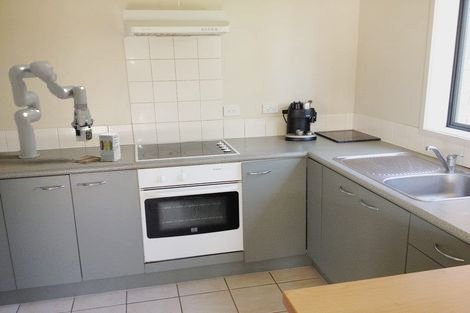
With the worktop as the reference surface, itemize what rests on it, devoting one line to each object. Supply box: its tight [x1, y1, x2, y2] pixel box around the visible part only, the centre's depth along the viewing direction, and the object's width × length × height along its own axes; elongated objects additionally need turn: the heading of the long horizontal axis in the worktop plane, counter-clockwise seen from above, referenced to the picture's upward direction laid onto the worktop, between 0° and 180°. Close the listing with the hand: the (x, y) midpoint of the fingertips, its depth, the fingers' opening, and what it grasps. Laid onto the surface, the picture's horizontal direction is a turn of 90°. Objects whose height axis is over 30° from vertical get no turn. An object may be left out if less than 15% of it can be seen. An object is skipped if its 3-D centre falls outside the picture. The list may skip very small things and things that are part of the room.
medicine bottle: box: [75, 122, 93, 142], centre depth 256 cm, size 7×7×12 cm
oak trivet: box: [71, 155, 101, 164], centre depth 260 cm, size 12×12×2 cm
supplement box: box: [98, 132, 122, 163], centre depth 259 cm, size 10×9×17 cm
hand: (83, 134), depth 256 cm, fingers closed on medicine bottle, 8 cm apart
